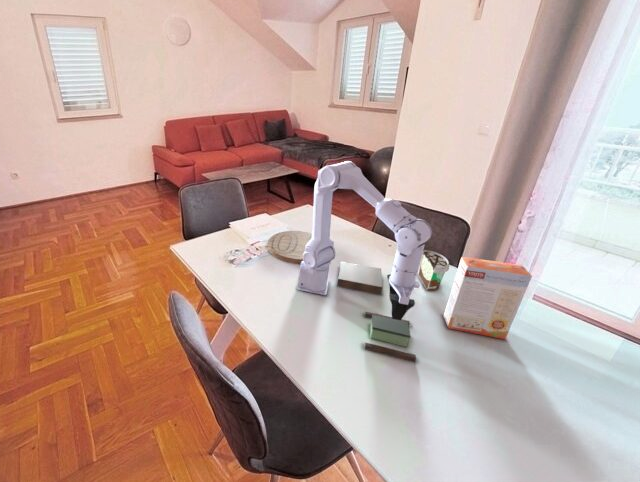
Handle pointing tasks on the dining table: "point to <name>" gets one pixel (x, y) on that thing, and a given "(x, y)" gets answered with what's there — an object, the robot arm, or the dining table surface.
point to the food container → (432, 269)
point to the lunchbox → (389, 330)
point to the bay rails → (388, 350)
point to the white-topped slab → (360, 277)
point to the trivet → (289, 245)
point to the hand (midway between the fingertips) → (395, 309)
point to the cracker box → (486, 296)
